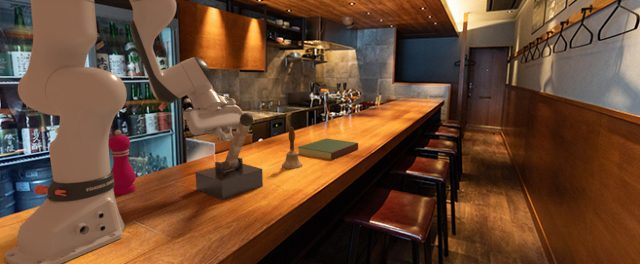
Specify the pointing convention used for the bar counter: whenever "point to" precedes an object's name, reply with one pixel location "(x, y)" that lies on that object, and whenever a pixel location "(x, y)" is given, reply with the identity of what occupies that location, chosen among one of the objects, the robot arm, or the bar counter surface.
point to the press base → (228, 180)
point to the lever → (237, 142)
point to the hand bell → (292, 153)
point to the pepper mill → (121, 164)
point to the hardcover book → (328, 148)
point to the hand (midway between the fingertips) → (229, 139)
